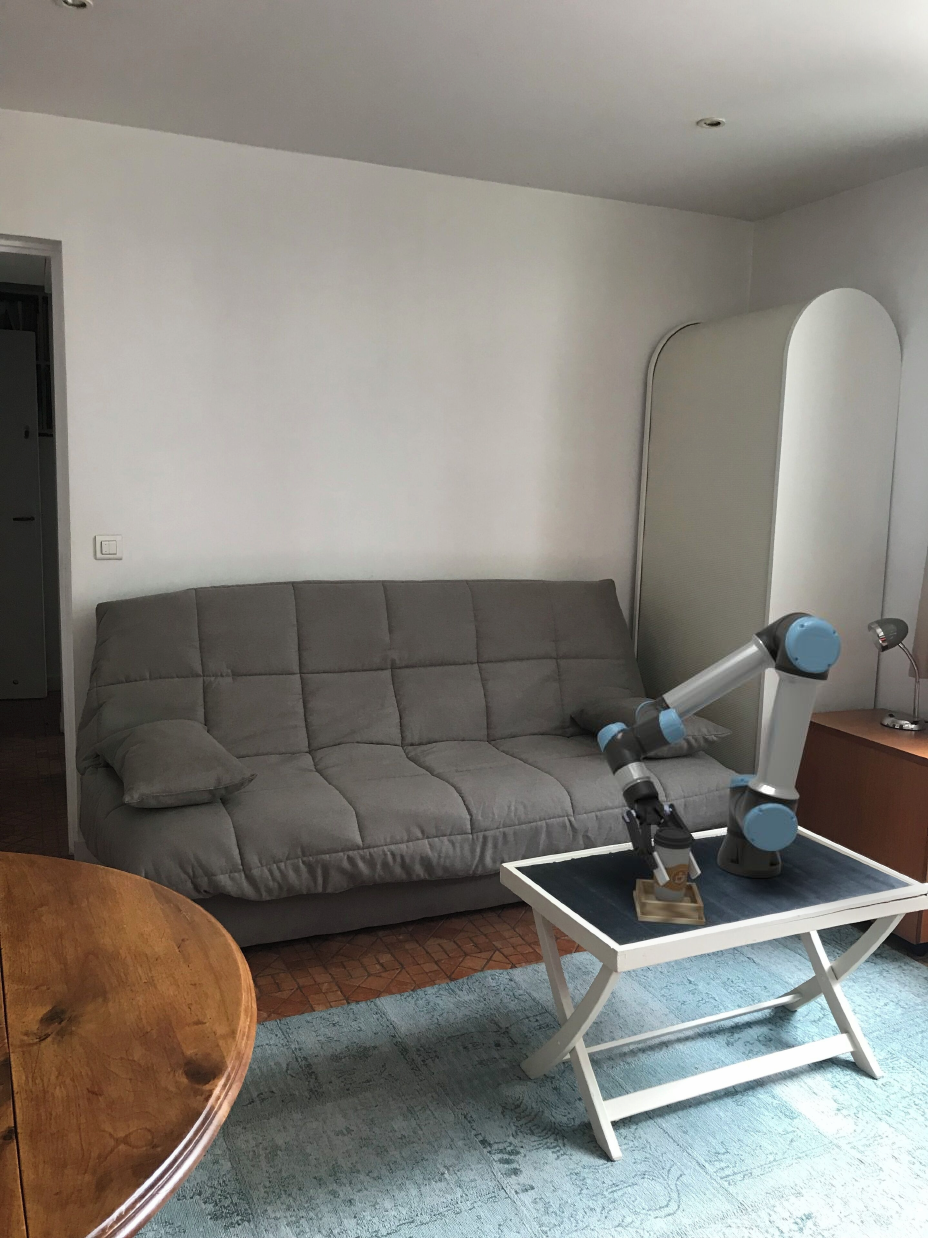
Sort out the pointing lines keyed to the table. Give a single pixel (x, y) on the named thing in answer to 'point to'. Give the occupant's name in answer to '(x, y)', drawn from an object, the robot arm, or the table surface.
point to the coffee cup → (672, 862)
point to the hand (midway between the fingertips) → (680, 879)
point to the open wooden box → (668, 905)
